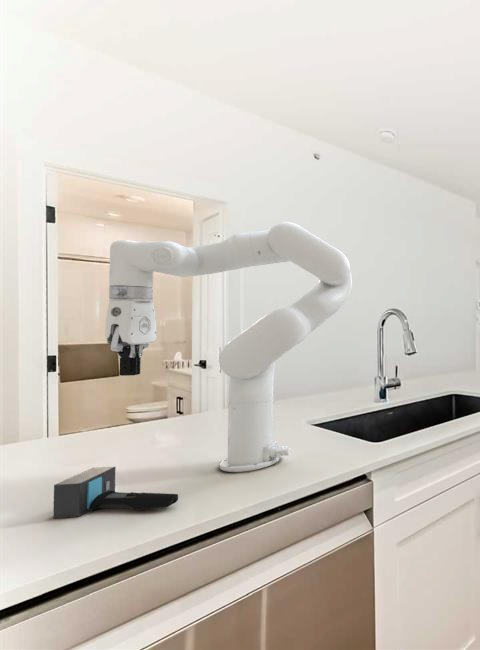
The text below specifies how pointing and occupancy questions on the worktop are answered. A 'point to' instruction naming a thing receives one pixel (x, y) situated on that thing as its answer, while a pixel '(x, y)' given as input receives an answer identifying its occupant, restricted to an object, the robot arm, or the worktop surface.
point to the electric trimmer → (133, 500)
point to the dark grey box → (82, 491)
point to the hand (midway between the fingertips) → (129, 374)
